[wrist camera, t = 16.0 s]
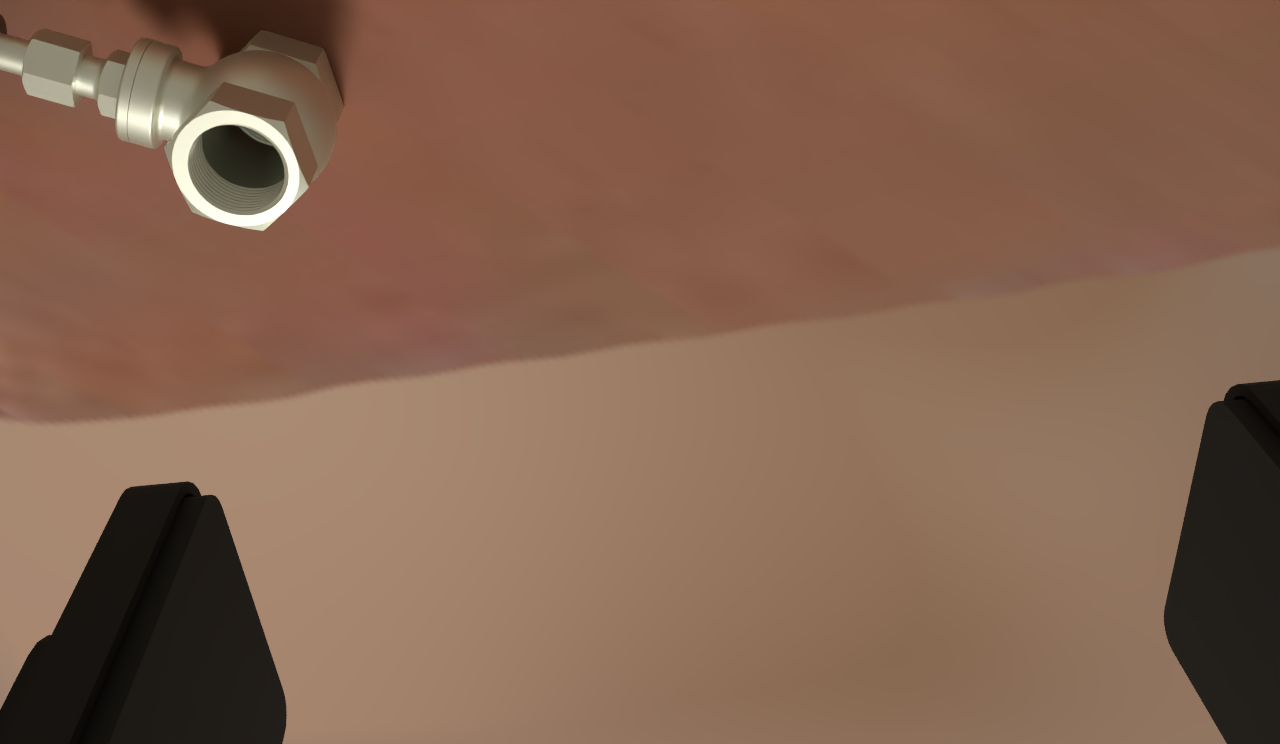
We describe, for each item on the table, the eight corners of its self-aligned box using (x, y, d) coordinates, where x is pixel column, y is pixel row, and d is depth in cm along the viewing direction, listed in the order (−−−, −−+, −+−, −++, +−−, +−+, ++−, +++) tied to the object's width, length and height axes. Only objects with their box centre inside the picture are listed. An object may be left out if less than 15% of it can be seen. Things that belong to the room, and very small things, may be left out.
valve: (372, 7, 37) (-50, -124, 34) (339, 78, 31) (-170, -73, 28) (330, 199, 40) (-59, 92, 37) (292, 294, 34) (-168, 176, 32)
